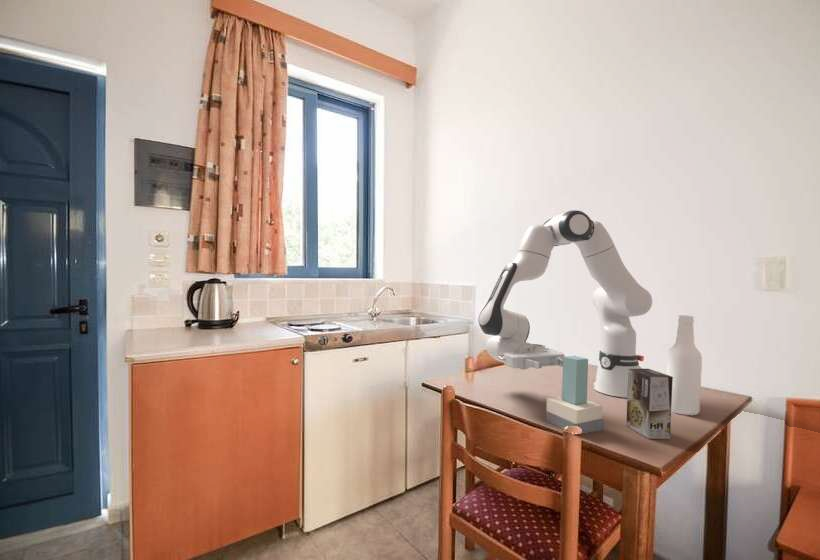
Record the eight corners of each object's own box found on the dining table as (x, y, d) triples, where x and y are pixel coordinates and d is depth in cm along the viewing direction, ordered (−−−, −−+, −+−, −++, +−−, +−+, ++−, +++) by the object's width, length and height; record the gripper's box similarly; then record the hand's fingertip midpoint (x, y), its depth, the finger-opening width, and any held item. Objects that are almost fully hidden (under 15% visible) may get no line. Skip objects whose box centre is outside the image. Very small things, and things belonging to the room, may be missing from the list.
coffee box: (671, 439, 98) (674, 376, 98) (647, 439, 97) (650, 376, 97) (646, 425, 107) (649, 368, 107) (624, 425, 106) (627, 367, 106)
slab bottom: (573, 418, 111) (573, 406, 111) (602, 432, 102) (602, 419, 102) (546, 422, 107) (546, 410, 107) (574, 437, 98) (574, 423, 98)
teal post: (573, 398, 108) (574, 355, 108) (586, 402, 104) (588, 358, 104) (561, 399, 106) (563, 356, 106) (575, 404, 102) (576, 359, 102)
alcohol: (694, 418, 114) (699, 318, 113) (660, 409, 120) (665, 315, 120) (702, 412, 119) (707, 316, 119) (670, 404, 126) (674, 314, 126)
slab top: (571, 406, 112) (571, 394, 112) (602, 418, 103) (602, 405, 103) (546, 410, 107) (546, 398, 107) (576, 423, 98) (576, 410, 98)
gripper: (495, 346, 122) (524, 355, 109) (545, 344, 130) (578, 352, 117) (494, 366, 122) (523, 377, 109) (545, 363, 130) (577, 373, 117)
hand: (552, 364), depth 113 cm, fingers open, 8 cm apart
